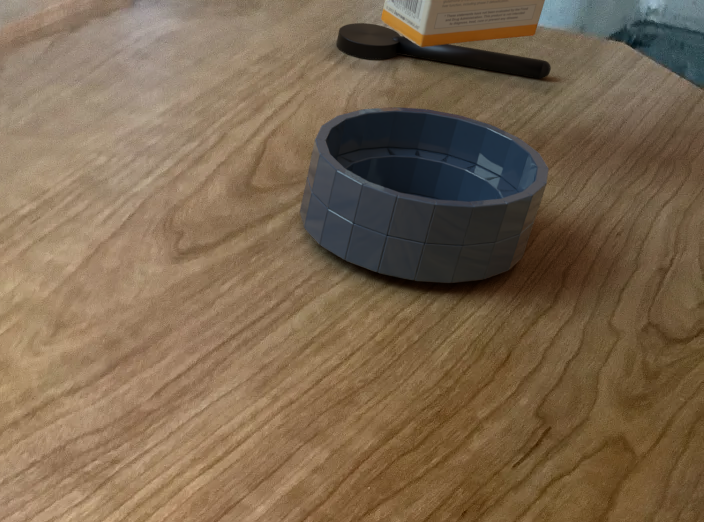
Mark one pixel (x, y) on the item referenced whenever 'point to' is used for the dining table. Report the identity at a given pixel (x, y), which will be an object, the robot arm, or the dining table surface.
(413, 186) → the bowl
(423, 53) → the dark round paddle
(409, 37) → the supplement box
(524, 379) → the dining table surface
